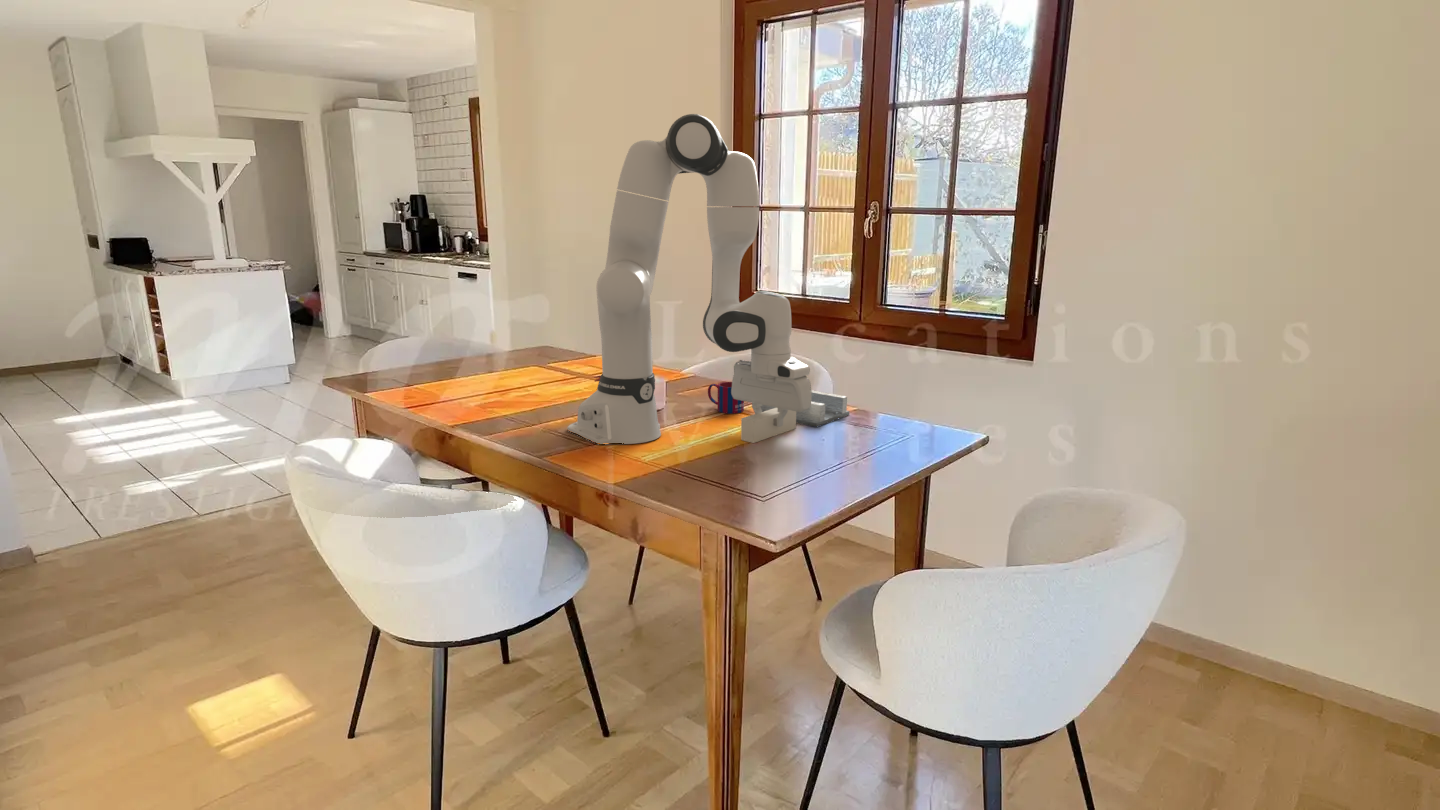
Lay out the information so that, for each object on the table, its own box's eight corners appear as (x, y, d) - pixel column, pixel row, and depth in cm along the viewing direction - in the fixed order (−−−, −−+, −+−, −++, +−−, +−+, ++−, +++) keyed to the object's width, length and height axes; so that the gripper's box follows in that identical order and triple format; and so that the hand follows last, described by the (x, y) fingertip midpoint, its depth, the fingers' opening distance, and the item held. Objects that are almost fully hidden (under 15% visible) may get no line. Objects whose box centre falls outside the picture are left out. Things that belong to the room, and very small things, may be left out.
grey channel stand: (755, 414, 195) (756, 394, 194) (790, 403, 206) (790, 385, 205) (816, 427, 184) (817, 406, 183) (849, 414, 195) (850, 395, 194)
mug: (733, 415, 194) (733, 388, 193) (702, 408, 200) (702, 383, 199) (748, 410, 200) (749, 384, 198) (718, 404, 206) (718, 378, 204)
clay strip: (741, 440, 173) (741, 418, 172) (783, 425, 185) (784, 405, 184) (753, 443, 171) (753, 421, 170) (795, 428, 183) (796, 407, 182)
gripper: (725, 360, 178) (725, 418, 182) (800, 372, 166) (798, 435, 169) (742, 356, 183) (742, 413, 186) (816, 368, 170) (814, 429, 174)
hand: (769, 424), depth 178 cm, fingers closed on clay strip, 3 cm apart
